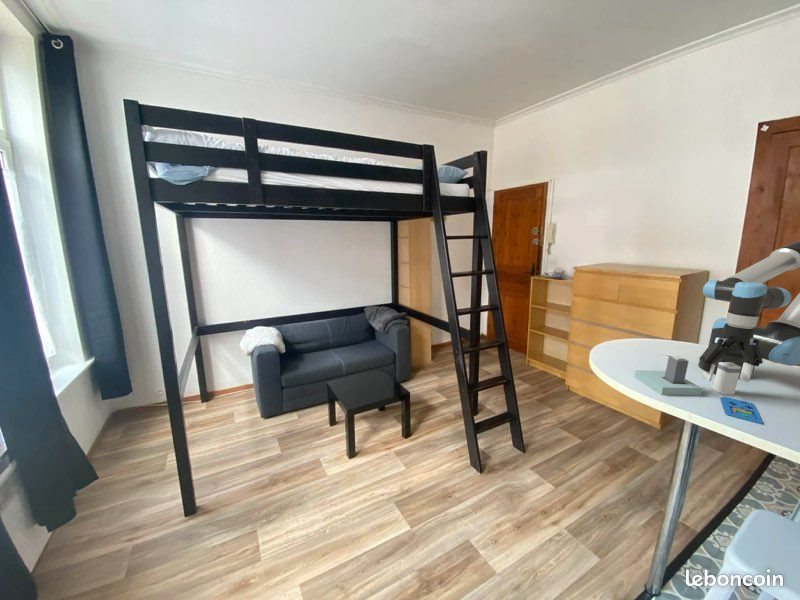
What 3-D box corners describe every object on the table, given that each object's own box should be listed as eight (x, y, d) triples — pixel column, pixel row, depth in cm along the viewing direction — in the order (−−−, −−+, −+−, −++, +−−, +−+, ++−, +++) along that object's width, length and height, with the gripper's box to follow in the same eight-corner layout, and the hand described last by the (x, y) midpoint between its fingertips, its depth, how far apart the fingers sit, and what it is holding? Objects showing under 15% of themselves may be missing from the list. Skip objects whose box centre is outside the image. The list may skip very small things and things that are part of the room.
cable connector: (723, 388, 117) (730, 360, 114) (734, 394, 113) (742, 365, 110) (712, 388, 117) (719, 360, 115) (722, 394, 113) (730, 365, 111)
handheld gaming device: (753, 402, 107) (764, 422, 95) (752, 405, 107) (763, 426, 96) (719, 394, 112) (726, 413, 100) (719, 397, 112) (725, 416, 101)
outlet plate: (668, 377, 126) (670, 370, 125) (700, 395, 113) (702, 387, 112) (634, 377, 127) (635, 370, 126) (661, 394, 113) (662, 387, 112)
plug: (673, 385, 120) (679, 355, 117) (682, 390, 116) (689, 359, 113) (662, 385, 120) (669, 355, 117) (671, 390, 116) (677, 359, 113)
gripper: (764, 323, 113) (749, 376, 117) (694, 321, 113) (682, 374, 118) (788, 329, 105) (771, 385, 110) (714, 328, 106) (700, 384, 111)
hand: (725, 380), depth 114 cm, fingers open, 13 cm apart
